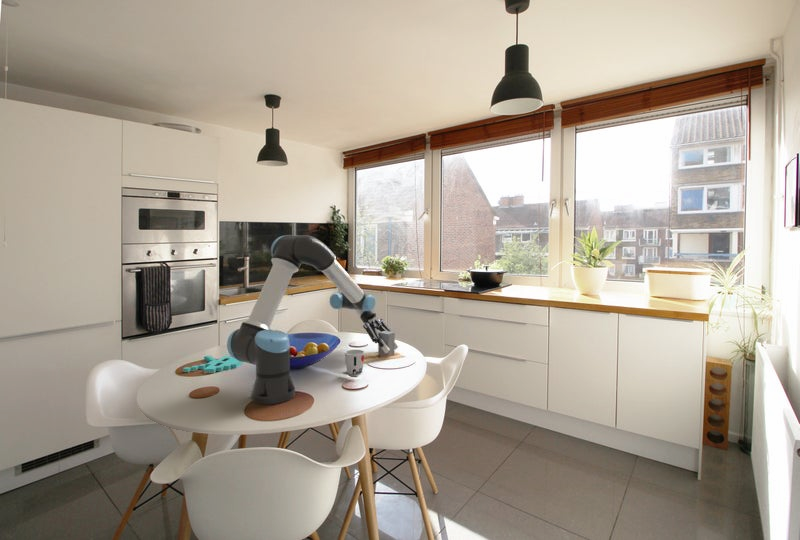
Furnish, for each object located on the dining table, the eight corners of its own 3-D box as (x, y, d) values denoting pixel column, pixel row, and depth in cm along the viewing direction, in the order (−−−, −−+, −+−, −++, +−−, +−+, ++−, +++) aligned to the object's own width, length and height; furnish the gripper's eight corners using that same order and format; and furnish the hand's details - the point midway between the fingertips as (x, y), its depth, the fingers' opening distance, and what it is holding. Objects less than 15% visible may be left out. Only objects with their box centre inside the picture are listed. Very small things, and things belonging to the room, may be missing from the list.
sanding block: (394, 354, 195) (394, 332, 194) (388, 357, 191) (388, 334, 190) (384, 352, 198) (384, 330, 198) (378, 355, 194) (378, 332, 193)
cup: (352, 380, 164) (352, 356, 163) (341, 375, 170) (341, 351, 169) (368, 375, 169) (368, 352, 169) (357, 370, 176) (357, 348, 175)
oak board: (405, 359, 192) (405, 356, 192) (359, 367, 180) (359, 364, 180) (391, 352, 204) (391, 349, 204) (347, 359, 192) (347, 356, 192)
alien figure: (183, 373, 172) (229, 374, 172) (183, 368, 172) (229, 369, 172) (206, 359, 192) (248, 360, 192) (206, 355, 192) (248, 355, 192)
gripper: (373, 314, 210) (399, 349, 202) (348, 320, 194) (375, 359, 186) (382, 305, 207) (408, 341, 199) (356, 310, 190) (384, 350, 182)
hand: (392, 349), depth 192 cm, fingers open, 7 cm apart
